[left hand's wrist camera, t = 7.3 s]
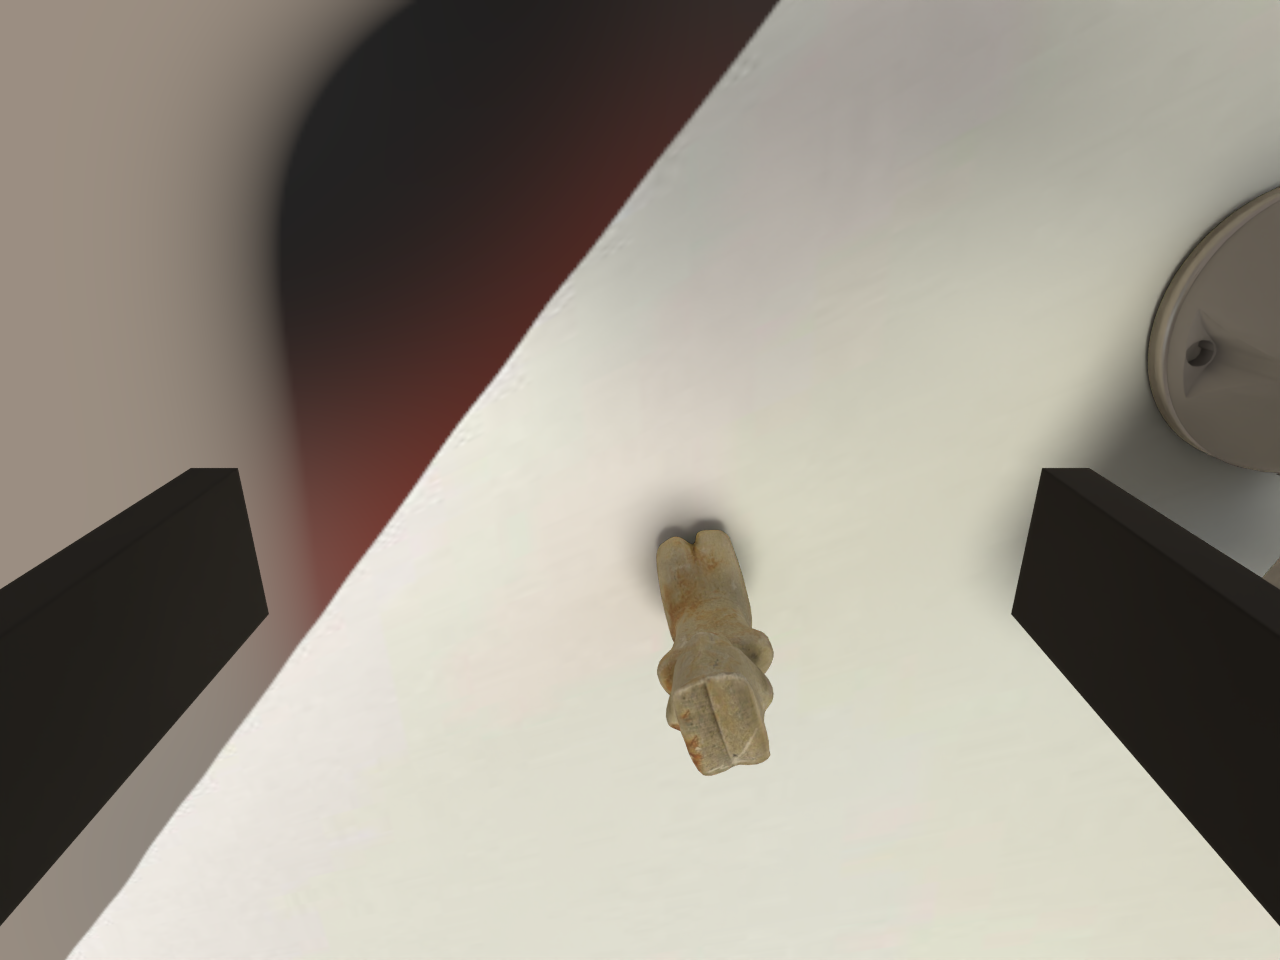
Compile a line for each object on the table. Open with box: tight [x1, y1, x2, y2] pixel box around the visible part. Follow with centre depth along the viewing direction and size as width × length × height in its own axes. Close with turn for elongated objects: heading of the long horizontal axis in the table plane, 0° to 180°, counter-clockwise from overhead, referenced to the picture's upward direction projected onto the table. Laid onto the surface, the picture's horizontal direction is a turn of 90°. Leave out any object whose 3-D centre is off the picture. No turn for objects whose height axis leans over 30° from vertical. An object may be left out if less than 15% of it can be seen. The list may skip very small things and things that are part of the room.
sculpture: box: [656, 530, 774, 776], centre depth 39 cm, size 6×7×15 cm
